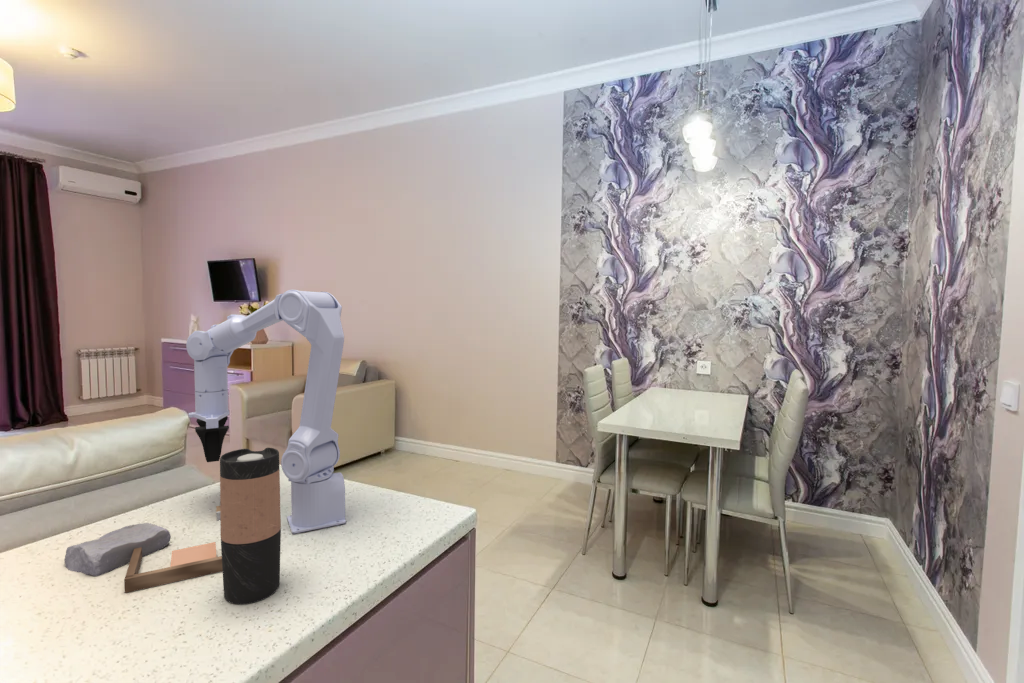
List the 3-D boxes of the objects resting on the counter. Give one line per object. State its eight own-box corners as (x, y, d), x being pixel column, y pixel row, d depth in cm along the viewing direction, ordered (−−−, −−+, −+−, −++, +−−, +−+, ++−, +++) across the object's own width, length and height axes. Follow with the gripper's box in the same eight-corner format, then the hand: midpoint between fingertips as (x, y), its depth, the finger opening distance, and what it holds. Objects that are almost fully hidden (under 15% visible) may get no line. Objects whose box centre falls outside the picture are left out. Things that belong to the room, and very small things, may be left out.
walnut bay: (247, 538, 87) (247, 527, 87) (251, 564, 78) (251, 552, 78) (134, 560, 79) (134, 548, 79) (124, 593, 70) (124, 579, 70)
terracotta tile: (215, 553, 83) (215, 541, 83) (216, 569, 78) (216, 557, 78) (172, 562, 80) (172, 550, 80) (170, 580, 75) (170, 567, 74)
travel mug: (240, 612, 66) (238, 465, 65) (210, 594, 70) (207, 456, 69) (292, 585, 73) (291, 452, 71) (262, 570, 77) (260, 444, 76)
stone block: (57, 579, 77) (97, 579, 74) (53, 548, 77) (93, 547, 74) (138, 548, 88) (176, 547, 85) (134, 521, 88) (172, 519, 85)
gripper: (189, 386, 104) (190, 450, 105) (186, 397, 92) (188, 469, 93) (227, 384, 108) (229, 445, 109) (230, 394, 95) (231, 463, 96)
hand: (212, 456), depth 101 cm, fingers open, 7 cm apart
